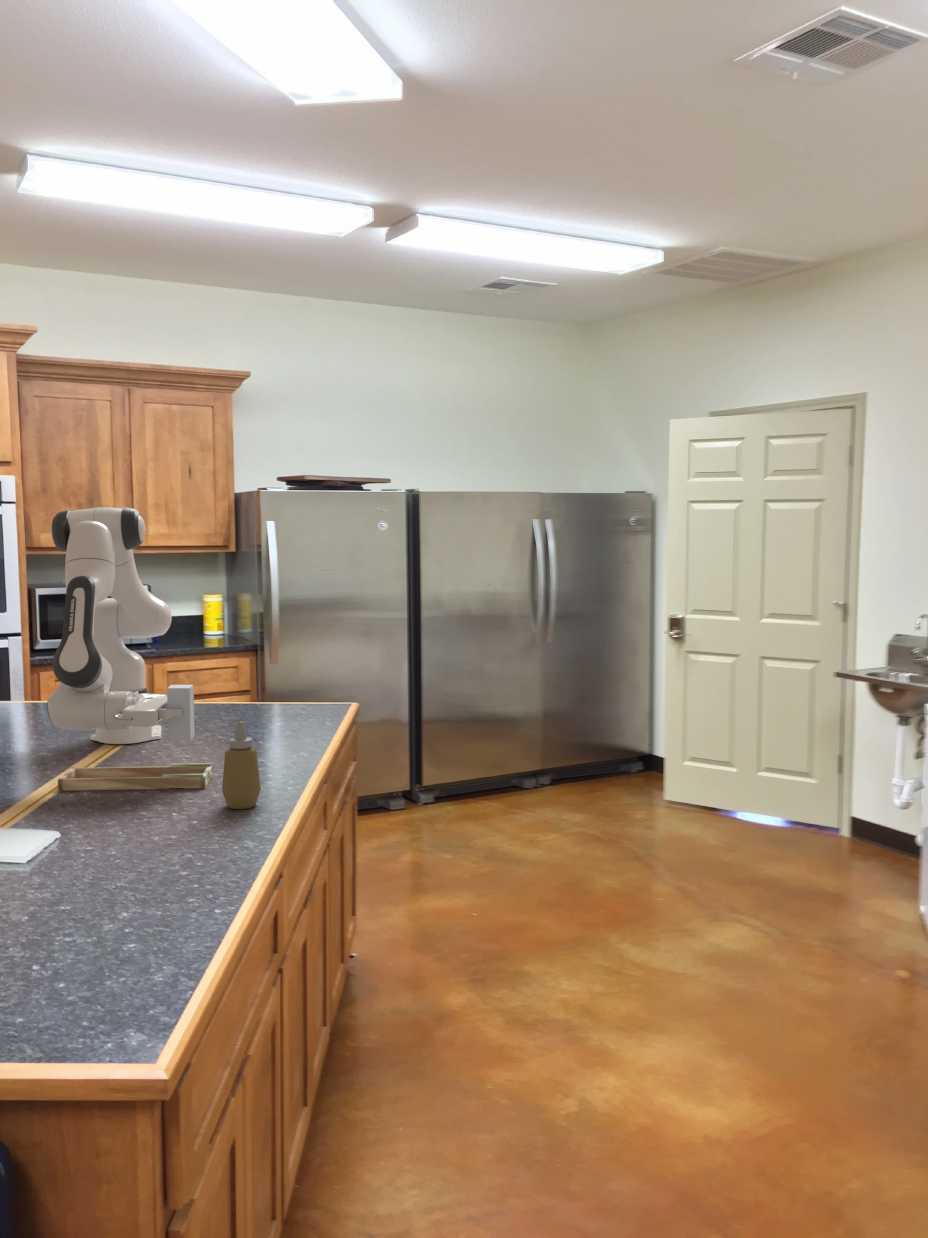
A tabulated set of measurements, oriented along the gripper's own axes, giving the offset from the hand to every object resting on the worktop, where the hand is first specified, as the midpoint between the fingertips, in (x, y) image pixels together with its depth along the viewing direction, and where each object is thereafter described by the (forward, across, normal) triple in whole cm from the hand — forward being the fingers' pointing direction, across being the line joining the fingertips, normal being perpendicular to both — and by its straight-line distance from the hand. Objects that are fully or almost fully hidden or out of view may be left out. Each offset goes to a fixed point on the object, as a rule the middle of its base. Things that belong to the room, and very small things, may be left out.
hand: (184, 710), depth 227 cm
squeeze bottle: (+15, -20, +17) cm, 31 cm away
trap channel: (-11, 0, +17) cm, 20 cm away
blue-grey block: (-1, 0, +6) cm, 7 cm away
